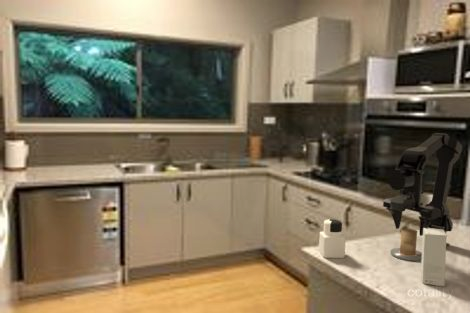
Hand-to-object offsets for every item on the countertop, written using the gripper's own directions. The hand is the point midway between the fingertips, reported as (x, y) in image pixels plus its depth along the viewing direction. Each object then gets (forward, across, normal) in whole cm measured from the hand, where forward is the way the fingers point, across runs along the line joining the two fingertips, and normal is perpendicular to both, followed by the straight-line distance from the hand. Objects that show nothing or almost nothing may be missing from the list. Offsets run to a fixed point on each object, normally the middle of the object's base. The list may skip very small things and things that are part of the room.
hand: (409, 232), depth 139 cm
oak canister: (+7, 0, 0) cm, 7 cm away
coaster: (+8, 0, 0) cm, 8 cm away
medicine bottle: (+9, -13, -23) cm, 28 cm away
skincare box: (+9, +17, -12) cm, 22 cm away
